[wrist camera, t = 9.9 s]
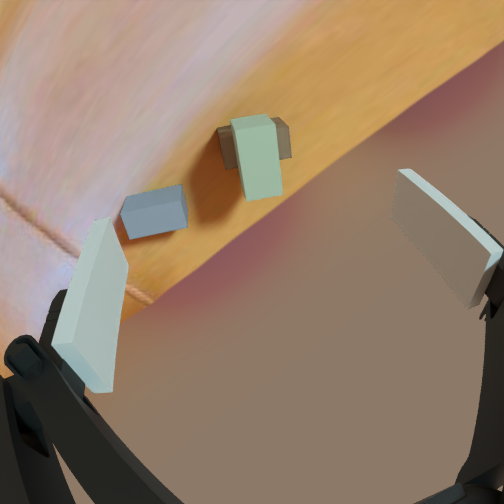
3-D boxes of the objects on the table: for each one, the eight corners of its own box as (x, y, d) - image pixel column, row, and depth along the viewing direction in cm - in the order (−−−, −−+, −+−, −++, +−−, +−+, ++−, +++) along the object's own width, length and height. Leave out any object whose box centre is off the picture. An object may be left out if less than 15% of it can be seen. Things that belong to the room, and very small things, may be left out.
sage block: (273, 176, 39) (282, 194, 35) (240, 182, 38) (246, 201, 34) (265, 113, 34) (275, 124, 30) (230, 119, 34) (234, 130, 30)
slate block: (135, 220, 45) (129, 239, 41) (126, 196, 42) (120, 214, 38) (188, 208, 45) (187, 227, 41) (181, 183, 43) (180, 200, 39)
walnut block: (222, 155, 41) (225, 169, 37) (217, 127, 39) (219, 138, 35) (281, 145, 41) (291, 157, 38) (278, 116, 39) (288, 126, 35)
